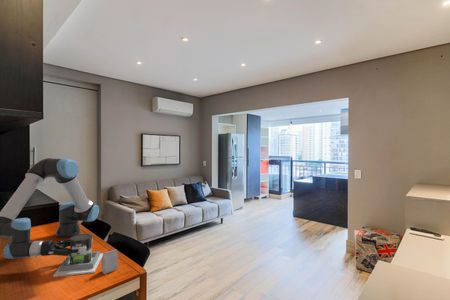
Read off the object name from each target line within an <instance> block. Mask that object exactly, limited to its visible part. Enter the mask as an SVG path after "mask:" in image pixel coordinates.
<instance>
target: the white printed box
mask: <svg viewBox="0 0 450 300" xmlns="http://www.w3.org/2000/svg"><path fill="white" fill-rule="evenodd" d="M102 253H103V256H102V258H101V269H100V270H101V273H102V274H103V275H106V274H108V273H111V272H113V271H117V270H118V269H119V267H118V266H119V254H118V250H117V249H116V248H115V249H113V250H110V251H105V252H102Z"/></svg>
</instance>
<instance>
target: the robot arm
mask: <svg viewBox="0 0 450 300" xmlns="http://www.w3.org/2000/svg"><path fill="white" fill-rule="evenodd" d="M78 169H79V166H78V164H77V162H76V161H75V160H74V159H71V158H70V159H69V158H52V157H51V158H50V157H48V158H43V159H40V160H39V161H37V162H35V163H34V164H33V165H32V166H31V167H30V168H29V169H28V170H27V172H26V173H25V175H24V176H25V178H24V179H23V180H22V182H21V183H20V185H19V186H18V187H17V189H16V191H14V192H13V194H12V195H11V196H10V198H9V200H8V201H7V202H6V204H5V205H4V207H2V209H1V210H0V238H9V239H10V242H9V243H7V244H6V245H5V247H4V249H3V250H4V251H3V256H4V258H5V259H15V260H16V259H21V258H22V259H23V258H37V257H47V256H49V257H50V256H62V257H63V256H64V257H68V255H69V256H71V253H72V254H73V253H85V252H86V247H76V248H72V250H71V249H70V243H71V241H70V238H71V237H73V236H76V235H80V234H82V233H81V232H82V231H81V230H82V229H81V227H80V224H79V221H80V222H94V221H95V220H96V219H97V218H98V216H99V213H100V206H99V205H98V204H94V203H93V201H92V200H91V199H88V197H87V195H86V193H85V192H84V190H83V188H82V186H81V184H80V183H79V180H78V179H77V176H78V173H79V170H78ZM47 178H54V180H55V181H56V183H57V184H61V186H62V187H63V189H64V191H65V192H66V194H67V196H68V197H69V199H70V200H71V201H69V202H64V203H62V204H60V205H59V213H58V214H59V216H58V217H59V218H58V223H59V224H58V226H57V229H56V231H55V237H56V238H60V239H63V238H68V239H63V240H58V242H54V240H52V239H50V240H48V239H47V240H34V241H31V231H32V229H31V228H32V225H31V224H32V223H31V222H32V221H31V218H28V217H20V218H17V217H18V216H19V214H20V213H21V211H22V209H23V208H24V207H25V205H26V204H27V203H28V201H29V200H30V199H31V197H32V195H33V193H35V191H36V190H37V188H38V186H39V185H40V184H41V183H43V182H44V180H45V179H47Z"/></svg>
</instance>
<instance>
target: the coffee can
mask: <svg viewBox="0 0 450 300" xmlns="http://www.w3.org/2000/svg"><path fill="white" fill-rule="evenodd" d="M69 239H70V241H71V243H70V246H69V248H70V249H71V250H72V248H76V247H86V252H85V253H73V254H72V253H71V256H70V265H72V264H83V263H91V255H92V252H93V249H92V248H93V247H92V246H93V234H91V233H80V234H79V235H76V236H73V237H69Z"/></svg>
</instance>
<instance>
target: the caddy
mask: <svg viewBox="0 0 450 300" xmlns="http://www.w3.org/2000/svg"><path fill="white" fill-rule="evenodd" d="M103 253H104V252H101V251H92V255H91V263H83V264H72V265H70V256H69V254H68V256H66V258H65V259H64V260H63V261H62V262H61V264H60V265H59V266H58V269H57V270H56V271H55V272H54V274H53V275H52V276H53V278H57V277H65V276H66V277H67V276H77V275H85V274H94V273H95V272H96V270H97V268H98V266H99V264H100V262H101V261H102V257H103Z"/></svg>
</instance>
